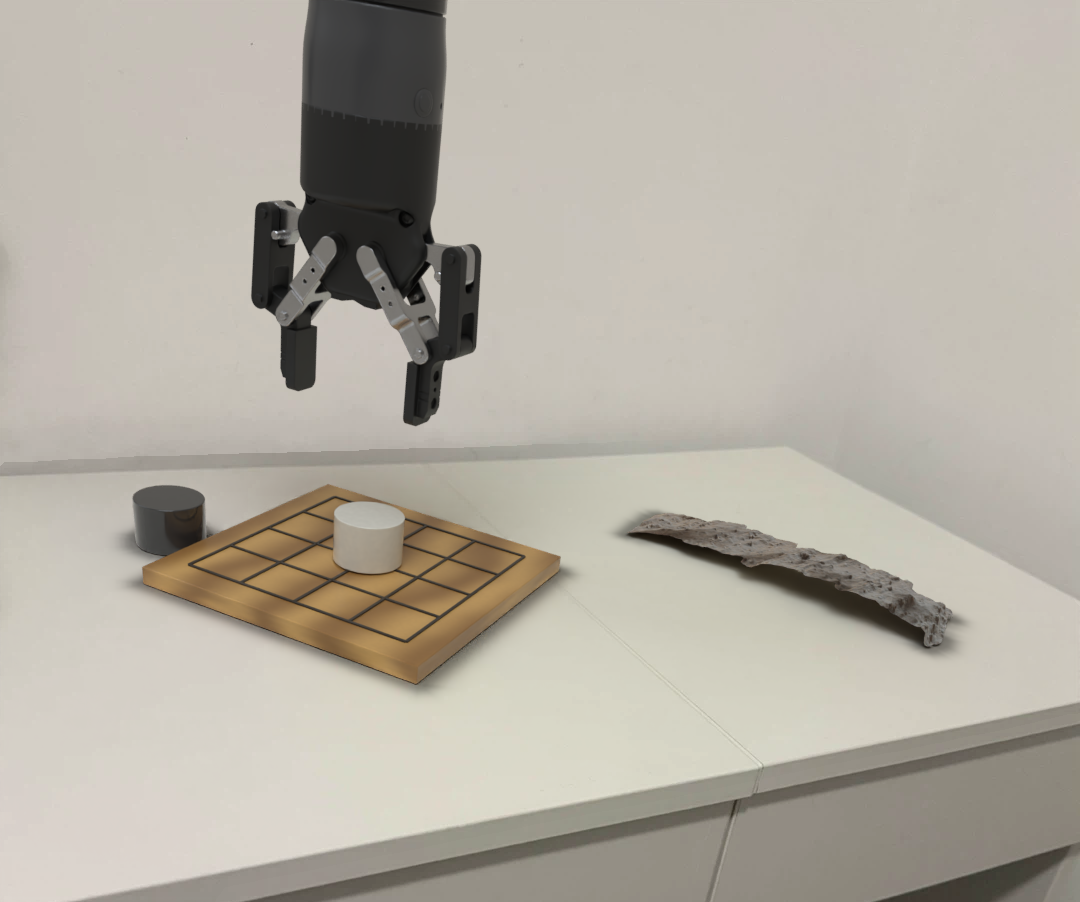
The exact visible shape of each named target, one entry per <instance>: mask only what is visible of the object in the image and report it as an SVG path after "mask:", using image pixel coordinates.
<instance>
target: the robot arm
mask: <svg viewBox="0 0 1080 902" xmlns="http://www.w3.org/2000/svg"><path fill="white" fill-rule="evenodd" d="M448 2H449V1H448V0H308V2H307V3H308V6H307V14H306V21H305V26H304V34H303V43H302V65H301V66H302V67H301V69H302V70H301V108H300V109H301V110H300V111H301V114H300V154H299V155H300V158H299V159H300V161H299V184H300V187H301V189H302V191H303V192H304V197H305V199H304V203H303V207H302V208H298V207H297V206H296V204H295V203H294V201H291V200H288V199H286V200H282V199H281V200H279V199H278V200H268V201H261V202H259V203H257V204H256V205H255V209H254V225H253V227H254V228H253V249H252V250H253V251H252V266H251V267H252V271H251V288H250V289H251V293H250V299H251V302H252V304H253V306H254V307H255V308H257V309H259V310H264V309H265V310H266V311H267V312H269V314H271V315H273V316H274V317H275V319H276V322H277V323H278V324H279V326H280V356H279V357H280V363H279V365H280V366H279V367H280V368H279V369H280V372H281V377H282V378H284V379H285V381H284V382H285V386H286V388H287V389H289V390H292V391H295V392H303V391H305V390H307V389H311V388H313V387H314V385H315V383H316V381H317V379H316V378H317V376H316V375H317V348H318V347H317V346H318V345H317V344H318V326H317V325H314V324H312V321H313V320H314V319H315V318H316V316H318V314H319V312H320V311H321V310H322V309H323V307H324V306H325V305H326V304H327V302H328V301H329V300H331V299H333V300H337V301H341V302H346V301H354V302H356V303H357V304H358V305H361V306H362V307H364V308H367V309H371V310H373V311H377V310H381V309H382V311H383V313H384V315H385V317H386V319H387V321H388V324H389V325H390V326H391V328H393V329H395V330H396V331H397V332H398V334H399V335H400V337H401V339H402V342H403V344H404V347H405V348H406V350H407V352H408V354H409V356H410V358H411V361H407V362H406V374H405V386H404V399H403V412H402V413H403V414H402V421H403V423H404V424H405V425H409V426H413V427H418V426H420V425H423V424H425V423H428V422H429V421H430V419H431V417H432V416H433V415H434V416H435V415H436V414H437V412H438V410H439V408H440V402H441V390H442V381H443V370H444V364H445V362H446V361H453V360H455V359H458V358H461V357H465V356H467V355H471V354H473V353H474V352H475V351H476V349H477V342H478V341H477V340H478V325H479V306H480V291H481V290H480V287H481V272H482V252H481V248H480V247H479V246H478V245H476V244H475V243H468V244H461V245H451V244H444V243H439V242H436V241H435V239H434V235H433V231H432V224H431V223H432V217H433V213H434V209H435V206H436V203H437V193H438V180H439V166H440V156H441V146H442V145H441V144H442V133H443V121H444V120H443V119H444V108H445V99H446V98H445V97H446V96H445V95H446V83H447V70H448V69H447V68H448V65H447V63H448V62H447V61H448V59H447V58H448V57H447V18H446V17H445V16H446V15H447V13H448V12H447V11H448ZM299 240H301V242H302V244H303V246H304V248H305V250H306V252H307V254H308V258H307V259H306V261H305V263H304V264H303V266H302V267H301V268H300V270H299V271H298V272H297V273H296V275H295V276H294V268H295V255H296V244H297V243H298V242H299ZM430 267H432V269H433V271H434V274H433V278H434V280H435V281H436V282H437V284H438V285H439V305H438V306H439V308H438V309H439V310H438V319H437V317H436V314H437V307H436V305H435V303H434V301H433V298H432V297H431V295H430V292H429V290H428V287H427V285H426V283H425V281H424V279H423V278H422V277H423V276H424V275H425V273H426V272H427V271H428V270H429V269H430ZM405 299H407V302H408V303H409V304H407V303H406V301H405Z"/></svg>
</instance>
